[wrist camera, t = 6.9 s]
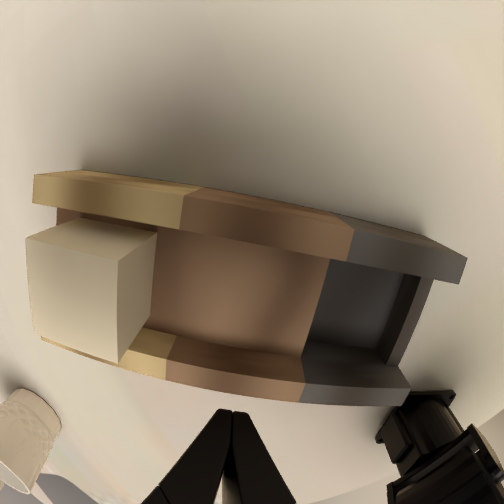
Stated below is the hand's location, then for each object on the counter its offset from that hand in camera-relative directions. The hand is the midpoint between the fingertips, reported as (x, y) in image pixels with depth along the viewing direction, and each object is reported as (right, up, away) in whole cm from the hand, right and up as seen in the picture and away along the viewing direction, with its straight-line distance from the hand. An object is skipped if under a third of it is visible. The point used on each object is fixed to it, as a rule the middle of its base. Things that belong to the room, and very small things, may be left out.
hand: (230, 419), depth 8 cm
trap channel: (0, +3, +11) cm, 12 cm away
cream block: (-7, +4, +9) cm, 12 cm away
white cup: (-23, -13, +16) cm, 31 cm away
